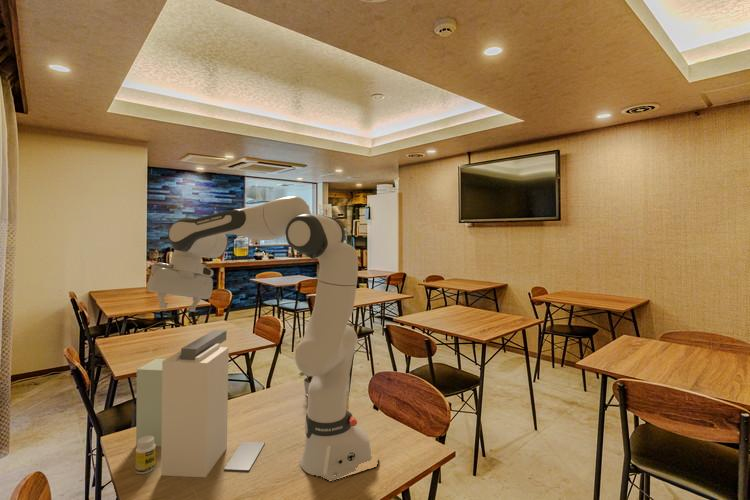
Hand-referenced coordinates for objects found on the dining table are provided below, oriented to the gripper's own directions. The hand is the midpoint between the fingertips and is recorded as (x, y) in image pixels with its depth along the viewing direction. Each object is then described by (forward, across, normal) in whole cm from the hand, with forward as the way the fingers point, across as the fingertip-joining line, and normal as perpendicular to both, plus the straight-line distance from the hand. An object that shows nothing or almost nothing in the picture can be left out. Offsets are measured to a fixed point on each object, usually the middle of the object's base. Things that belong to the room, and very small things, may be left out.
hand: (177, 310), depth 121 cm
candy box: (+33, +51, -28) cm, 67 cm away
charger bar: (+11, +2, -15) cm, 18 cm away
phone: (+42, +15, -23) cm, 50 cm away
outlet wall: (+42, +5, -14) cm, 45 cm away
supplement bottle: (+44, -4, -6) cm, 45 cm away
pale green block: (+40, +5, +7) cm, 41 cm away
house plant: (+29, +56, -10) cm, 64 cm away
